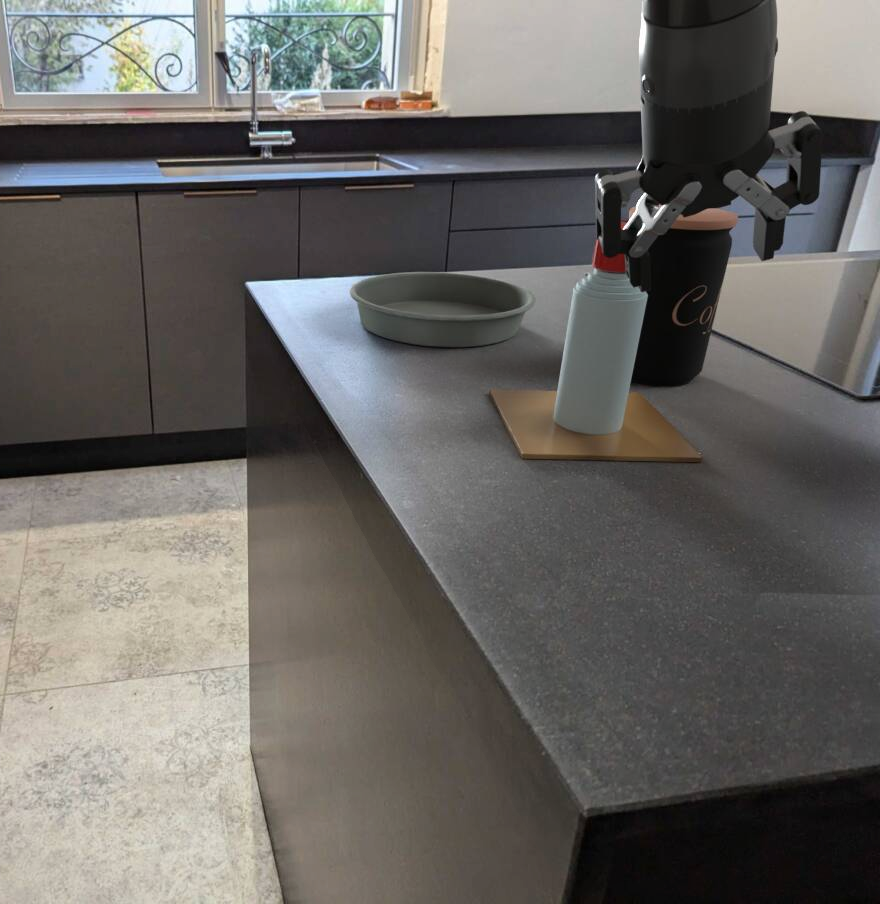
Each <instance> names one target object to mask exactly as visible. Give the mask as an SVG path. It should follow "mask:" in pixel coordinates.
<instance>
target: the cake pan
mask: <svg viewBox="0 0 880 904" xmlns="http://www.w3.org/2000/svg"><path fill="white" fill-rule="evenodd" d="M348 293H349V295H350V297H351V298H352V300H353V301H354V302H356V304H357V305H356V306H357V310H358V315H359V316H358V317H359V322H360V324H361V325H362V327H363V328H364V329H365V330H367V331H368V332H370V333H372V334H374V335H376V336H379V337H381V338H385V339H387V340H391V341H395V342H399V343H403V344H409V345H416V346H423V347H434V348H472V347H482V346H489V345H493V344H497V343H501V342H504V341H507V340H509V339H511V338H513V337H514V336H515V335H516V334H517V333H518V332H519V330H520V327H521V325H522V322H523V320H524V316H525V314H526V312H528V311H530V310H531V309H532V308H534V306H535V304H536V301H537V299H536V295H534V293H532V292H531V291H530V290H528V289H526V288H525V287H523V286H521V285H519V284H516V283H513V282H510V281H507V280H502V279H497V278H492V277H489V276H488V277H487V276H481V275H476V274H475V275H474V274H465V273H457V272H441V271H440V272H439V271H438V272H437V271H411V272H407V271H406V272H396V273H395V272H394V273H387V274H379V275H374V276H371V277H370V276H369V277H367V278H364V279H361V280H358V281H357V282H355V283H354V284H353V285H351V287H350V288H349V292H348Z"/></svg>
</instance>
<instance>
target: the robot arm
mask: <svg viewBox="0 0 880 904" xmlns="http://www.w3.org/2000/svg"><path fill="white" fill-rule="evenodd" d="M640 2H641V3H640V4H641V21H640V32H639V39H638V69H639V72H638V73H639V90H640V91H639V94H640V96H639V97H640V118H641V140H642V141H641V143H642V145H641V147H642V155H641V159H640V162H639V163H638V165H637V166H636V169H633V170H629V171H625V172H621V173H617V174H614V173H613V172H612V171H611V169H603V170H600V171H598V172H597V173H596V175H595V177H594V194H595V195H594V205H595V206H594V208H595V209H594V210H595V211H594V212H595V238H596V237H597V239H598V241H599V242H600V245H601V247H602V251H603V254H604V256H605V257H607V258H613V257H615V256H617V255H618V254H625V269H626V274H627V276H628V279H629V281H630V283H631V285H632V286H633V288H634V287H639V289H640V291H641V292H645V291H649V290H651V269H650V254H649V252H648V249H649V247H650V246H651V245H652V243H653V242H654V241H655V239H656V238H657V237H658V236H659V235H664V234H665V233H666V232H667V231H668V229H669V228H670V227H671V225H672V224H673V223H674V222H675V220H676V219H677V218H678V216H679V215H682V216H683V217H688V216H692V215H695V214H697V213H699V212H702V211H704V210H706V209H711V208H713V209H720V208H724V207H729V206H731V205H732V202H733V201H734V200H737V198H738V197H741V198H742V199H744V200H745V201H746V202H747V203H748V204H750V206H752V207H753V208H754V222H753V235H752V247H753V249H754V252H755V253H756V255H757V256H758V258H759V260H760V261H761V262H766V261H770V260H773V259H774V257H775V252H777V251H780V250H781V248H782V246H783V245H784V237H785V228H786V219H787V218H786V217H787V216H788V215H789V213H790V211H791V210H792V209H794V208H796V207H797V206H799V205H803V206H809V205H812V204H813V203H815V202H816V201H817V200H818V199H819V196H820V189H821V188H820V187H821V171H822V154H823V136H824V134H823V133H824V132H823V131H822V130H821V128H820V127H819V125H817V123H816V122H815V121H814V120H813V118H812V117H811V116H810V115H809V114H808V113H807V112H806V111H804V110H799V111H796V112H795V113H793V114H792V115H791V116H790V117H789V119H788V120H787V124H785V125H782V126H778V127H775V128H773V129H770V130H769V128H770V121H771V110H772V99H773V88H774V87H773V86H774V74H775V73H774V72H775V61H776V57H777V52H778V49H779V39H778V6H777V0H641V1H640ZM777 149H779V150H780V152H781V153H782V155H784V157H785V158H786V180H785V182H784V183H782V184H780V185H777V186H776V187H775V186H773V185H772V184H771V183H770V182H769V181H768V180H766V179H765V178H764V177H762V176H761V174H759V172H760V171H761V170H762V169H763V168H764V166H765V165H766V164H767V162H768V161H769V160H770V159H771V157H772V156H773V155H774V152H775V150H777ZM637 189H641V191H642V192H644V193H643V195H641V197H640V199H639V200H638V202H637V203H636V206H635V207H636V212H635V213H634V215H633V216H632V218H631V219H630V218H629V220H628V221H627V222H628V223H627V224H626V226H625V227H624V229H621V222H622V208H626V207H627V206H628V204H629V202H630V199H631V196H632V194H633V193H634V191H636V190H637ZM659 205H662V206H663V207H662V208H661V209H660V211H659Z"/></svg>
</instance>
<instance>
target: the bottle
mask: <svg viewBox="0 0 880 904" xmlns="http://www.w3.org/2000/svg"><path fill="white" fill-rule="evenodd" d="M647 298H648V294H647V293H646V291H645V292H641V291H640V289H639V287H634V288H633V286H632V285H631V283H630V281H629V279H628V276H627V274H626V272H611V271H604V270H600V269H597V268H594V270H591V271H589V272H588V275H585V276H583V277H582V279H581V280H579V281H578V282H576V285H575V286H574V287H573V290H572V297H571V303H570V309H569V315H568V321H567V328H566V333H565V334H566V335H565V341H564V348H563V354H562V359H561V365H560V373H559V378H558V385H557V390H556V391H557V397H556V403H555V409H554V416H553V419H554V421H555V422H556V423H557V424H558V425H560V426H561V427H563V428H566V429H568V430H571V431H574V432H578V433H584V434H592V435H605V434H611V433H615V432H617V431H619V430H620V429H621V427H622V423H623V418H624V413H625V408H626V403H627V398H628V393H629V392H630V387H631V382H632V381H631V378H632V373H633V368H634V363H635V358H636V353H637V348H638V343H639V338H640V333H641V328H642V323H643V318H644V313H645V308H646V303H647Z"/></svg>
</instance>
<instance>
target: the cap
mask: <svg viewBox="0 0 880 904" xmlns="http://www.w3.org/2000/svg"><path fill="white" fill-rule="evenodd" d="M628 222H629V221H621V229H624V227H625V226H626V224H627V223H628ZM591 266H592V267H593V268H594V269H595V268H597V269H600V270H604V271H611V272H626V269H625V254H618V255H617V256H615V257H613V258H607V257H605V256H604V254H603V251H602V247H601V245H600V242H599V241H598V239H597V237H596V236H595V241H594V248H593V253H592V259H591Z"/></svg>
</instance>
